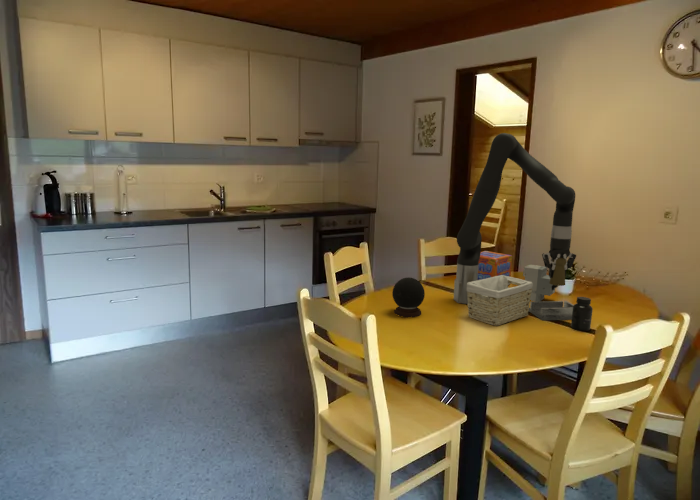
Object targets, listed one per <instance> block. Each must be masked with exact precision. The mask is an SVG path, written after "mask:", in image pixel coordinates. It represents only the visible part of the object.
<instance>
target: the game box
mask: <svg viewBox="0 0 700 500" xmlns="http://www.w3.org/2000/svg"><path fill="white" fill-rule="evenodd" d="M512 263H513V255H511V254H505V253H500V252H494V251H490V250H489V251H488V250H484V251H481V253H480V258H479V264H478V280H482V279H486V278H490V277H495V276H500V275H504V276H509V277H512V276H511V275H512ZM508 286H511V283H508Z"/></svg>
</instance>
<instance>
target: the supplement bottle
mask: <svg viewBox="0 0 700 500" xmlns="http://www.w3.org/2000/svg"><path fill="white" fill-rule="evenodd" d="M575 302H576V303H574V304H573V305H574V306H573V312H572V320H571V322H570V327H571V329H573V330H574V331H575V330H576V331H579V332H580V331H581V332H588V331H590V330H591V325H592V319H593V318H592V317H593V312H594V311H593V310H594V309H593V306H592V305H591V303H592V300H591V298H590V297H587V296H577V297H576V301H575Z"/></svg>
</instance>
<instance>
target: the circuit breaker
mask: <svg viewBox="0 0 700 500" xmlns="http://www.w3.org/2000/svg"><path fill="white" fill-rule="evenodd" d="M523 268H524V269H523V272H522V277H524V280H526V281H530V282H532V285H533V288H532V293H531V297H530V300H531V301H530V302H537V301H542V300H544V299H545V296H548V297H549V296H552V295H553V294H555V293H556V289H557V288H559V286H557V285H552V284H550V283H549V282H550V277H549V274H548V273H547V272H548V268H547V267H545V265H544V266H542V265H536V264H528V265H525V266H524V267H523Z"/></svg>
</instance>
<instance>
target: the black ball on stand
mask: <svg viewBox="0 0 700 500" xmlns="http://www.w3.org/2000/svg"><path fill="white" fill-rule="evenodd" d="M391 295H392V300H393V301H394V304H396V305H397V307H396V308H395V309H394V310H393V313H395V314H397V315H399V316H398V317H401V316H403V317H402V318H408V317H412V318H417V317H420V316H421V315H422V310H421V309H420V308H419V307H420V306H421V304H422V303H423V302H424V300H425V295H426V294H425V288H424V286H423V284H422V283H421V282H420V281H419V280H418V279H416V278H415V277H404V278H403V277H402V278H401V279H399V280H397V282H396V283H394V286H393V289H392V294H391ZM395 314H394V315H395ZM397 315H396V316H397Z"/></svg>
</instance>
